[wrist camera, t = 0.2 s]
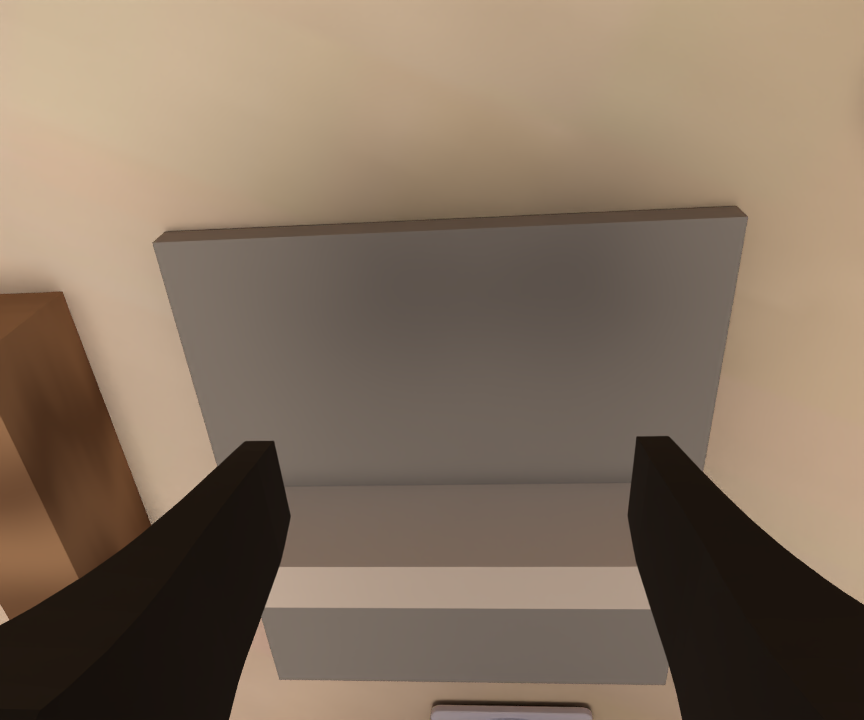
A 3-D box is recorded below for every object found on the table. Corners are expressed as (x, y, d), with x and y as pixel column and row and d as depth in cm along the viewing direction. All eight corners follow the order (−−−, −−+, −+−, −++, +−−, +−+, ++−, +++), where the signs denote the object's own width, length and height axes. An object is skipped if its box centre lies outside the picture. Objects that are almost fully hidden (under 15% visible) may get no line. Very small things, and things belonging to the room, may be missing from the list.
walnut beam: (213, 678, 34) (175, 780, 30) (148, 678, 35) (101, 778, 30) (66, 288, 23) (-27, 360, 19) (-28, 292, 24) (-139, 364, 19)
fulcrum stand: (660, 665, 31) (689, 776, 27) (284, 660, 33) (255, 765, 29) (736, 205, 20) (806, 270, 16) (165, 232, 22) (88, 296, 17)
